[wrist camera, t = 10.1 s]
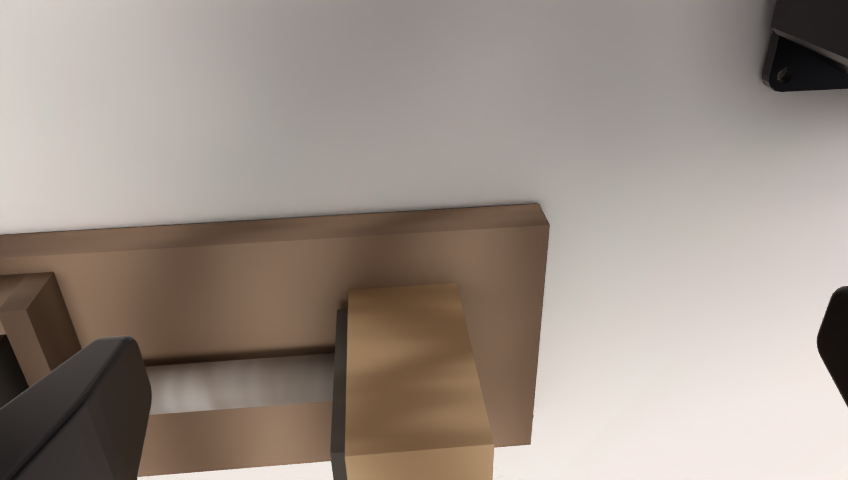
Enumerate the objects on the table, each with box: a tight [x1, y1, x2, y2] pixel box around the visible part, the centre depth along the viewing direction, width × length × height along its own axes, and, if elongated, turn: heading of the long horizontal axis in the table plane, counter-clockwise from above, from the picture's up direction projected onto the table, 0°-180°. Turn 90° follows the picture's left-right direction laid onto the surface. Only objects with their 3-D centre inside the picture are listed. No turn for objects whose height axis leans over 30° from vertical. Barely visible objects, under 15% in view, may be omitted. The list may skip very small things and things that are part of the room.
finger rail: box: [0, 204, 550, 480], centre depth 21 cm, size 24×10×8 cm, turn 91°
